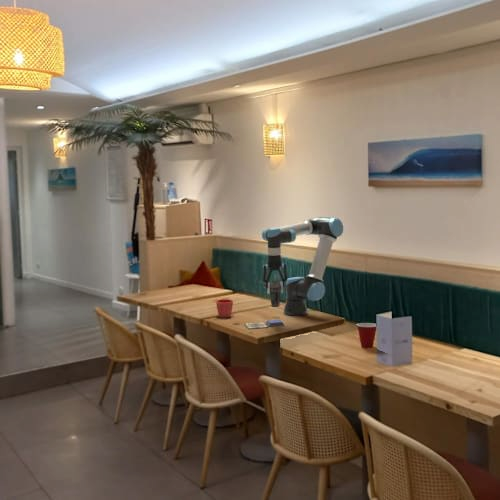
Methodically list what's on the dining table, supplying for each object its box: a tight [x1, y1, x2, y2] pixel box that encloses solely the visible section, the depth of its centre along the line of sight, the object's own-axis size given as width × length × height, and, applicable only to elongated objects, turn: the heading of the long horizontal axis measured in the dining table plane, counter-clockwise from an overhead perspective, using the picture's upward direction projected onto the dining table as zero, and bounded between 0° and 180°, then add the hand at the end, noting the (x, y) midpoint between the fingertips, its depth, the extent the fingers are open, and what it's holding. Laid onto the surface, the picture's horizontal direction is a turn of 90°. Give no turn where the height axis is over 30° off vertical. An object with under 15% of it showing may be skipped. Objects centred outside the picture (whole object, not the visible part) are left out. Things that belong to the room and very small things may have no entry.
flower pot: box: [215, 299, 234, 318], centre depth 398 cm, size 11×11×10 cm
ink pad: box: [265, 319, 285, 328], centre depth 373 cm, size 9×9×2 cm
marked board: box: [244, 322, 270, 330], centre depth 370 cm, size 12×12×1 cm
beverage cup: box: [269, 273, 281, 308], centre depth 371 cm, size 7×7×20 cm
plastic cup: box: [356, 322, 377, 349], centre depth 322 cm, size 11×11×12 cm
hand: (275, 293), depth 371 cm, fingers closed on beverage cup, 7 cm apart
